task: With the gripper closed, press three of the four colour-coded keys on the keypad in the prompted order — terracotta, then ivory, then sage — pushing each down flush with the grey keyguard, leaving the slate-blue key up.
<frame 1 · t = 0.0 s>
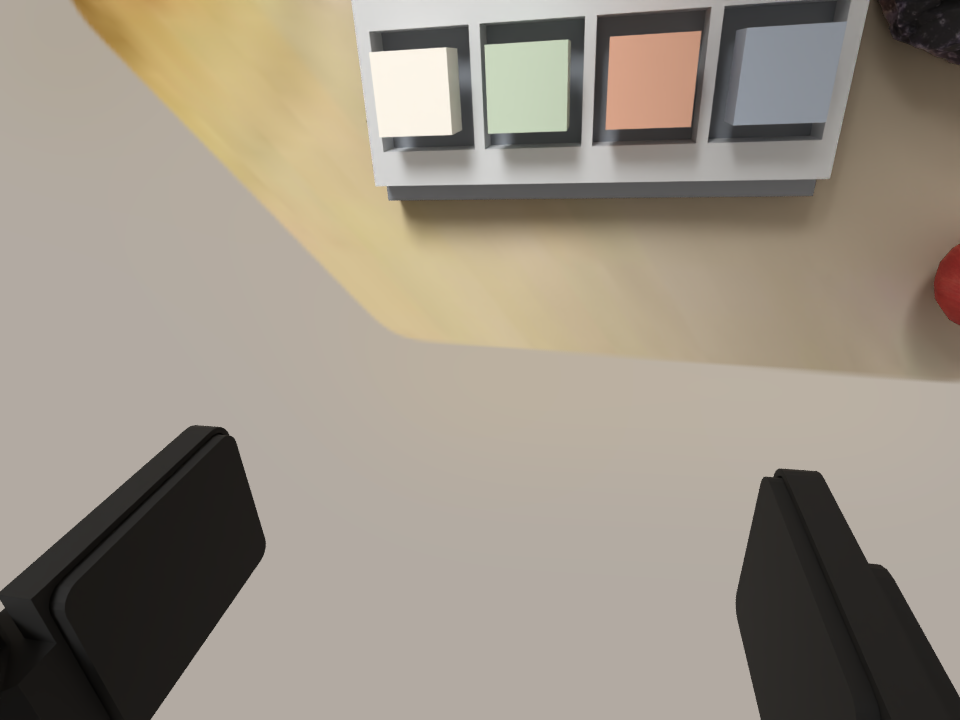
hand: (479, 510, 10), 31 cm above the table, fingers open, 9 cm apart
key slate: (780, 75, 28), point 5 cm above the table, slide at 0.0 cm
key sage: (529, 87, 30), point 5 cm above the table, slide at 0.0 cm
key ivory: (417, 93, 32), point 5 cm above the table, slide at 0.0 cm
key terracotta: (649, 81, 29), point 5 cm above the table, slide at 0.0 cm
keypad board: (590, 81, 34), on the table
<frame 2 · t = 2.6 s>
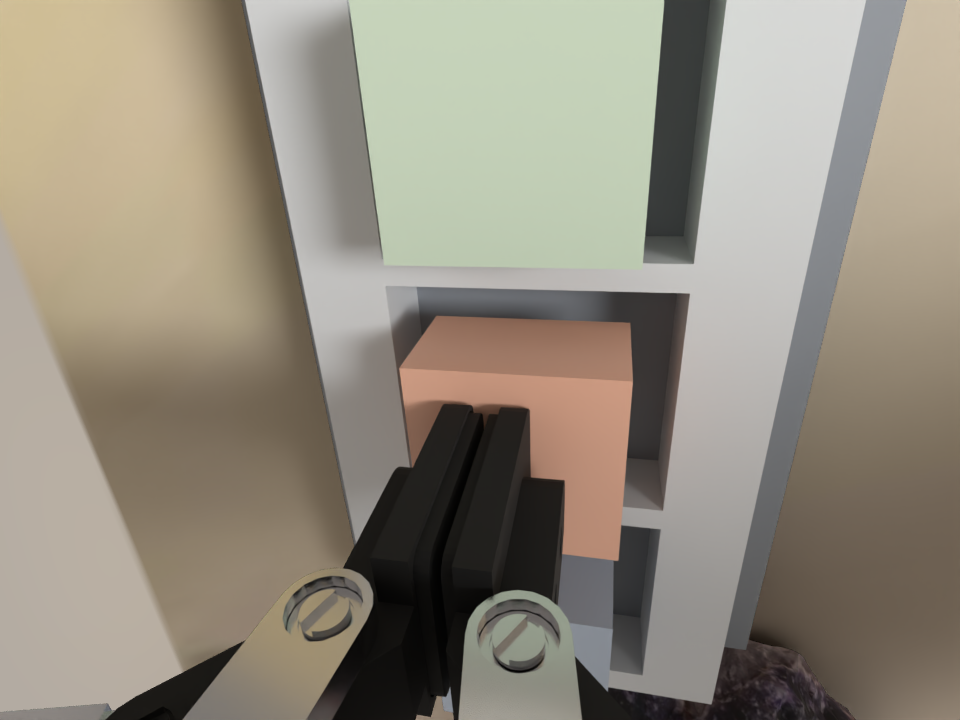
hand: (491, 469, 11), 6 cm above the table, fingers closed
key slate: (526, 629, 15), point 5 cm above the table, slide at 0.0 cm
key sage: (516, 119, 9), point 5 cm above the table, slide at 0.0 cm
key terracotta: (523, 432, 12), point 5 cm above the table, slide at 0.1 cm, touching gripper
keypad board: (549, 226, 15), on the table
crystal cluster: (690, 717, 24), on the table
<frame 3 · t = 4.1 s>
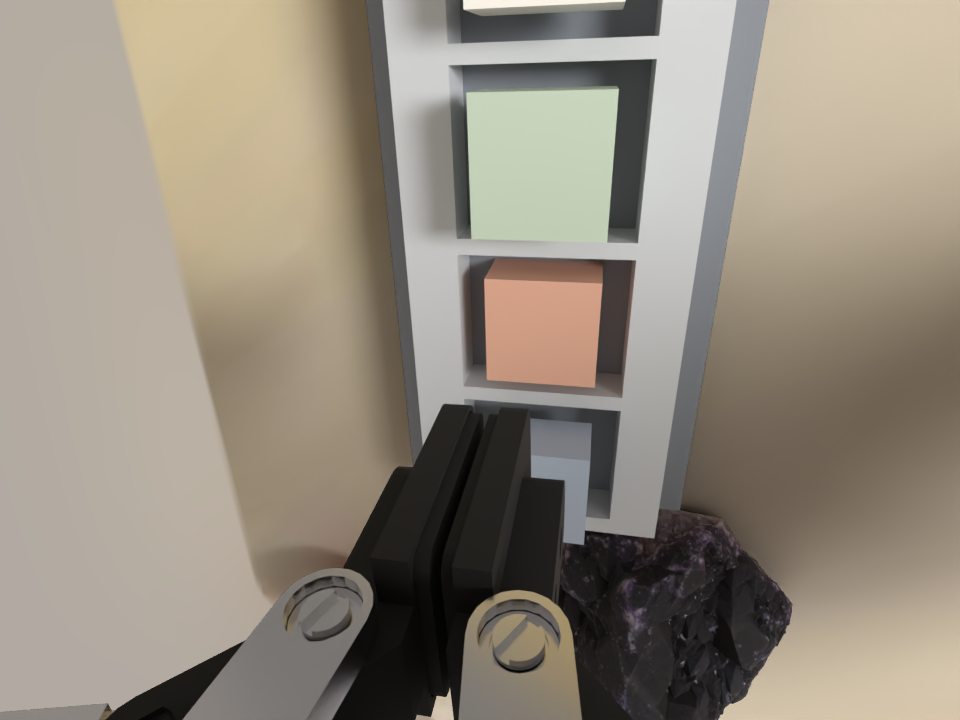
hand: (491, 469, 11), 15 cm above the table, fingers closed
key slate: (536, 478, 23), point 5 cm above the table, slide at 0.0 cm
key sage: (543, 163, 18), point 5 cm above the table, slide at 0.0 cm
key terracotta: (544, 321, 22), point 3 cm above the table, slide at 1.9 cm
keypad board: (553, 221, 24), on the table
crystal cluster: (650, 583, 32), on the table
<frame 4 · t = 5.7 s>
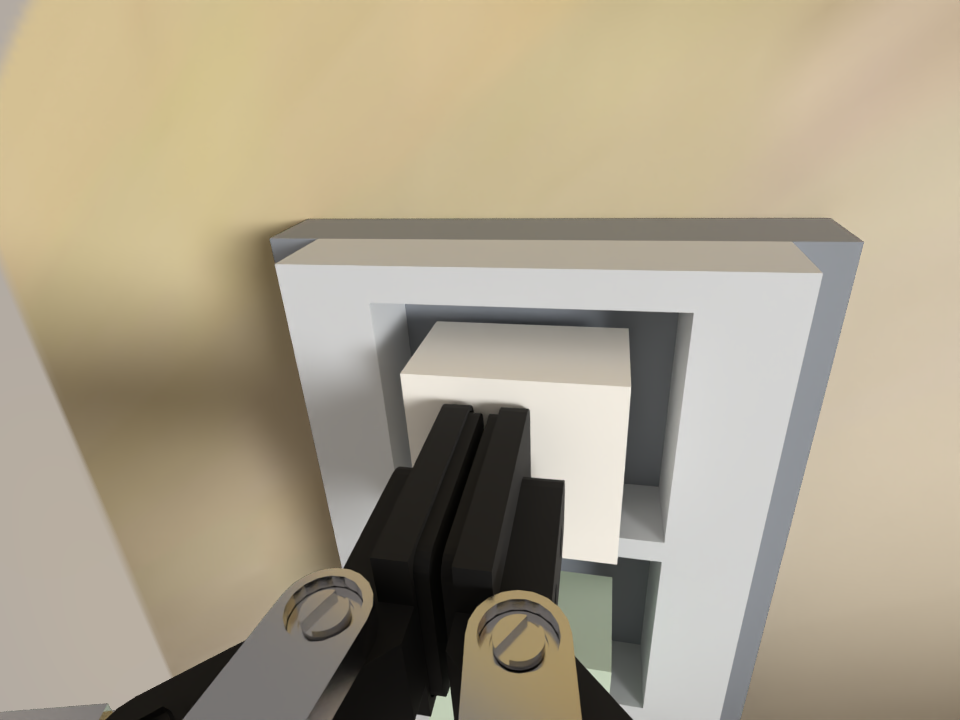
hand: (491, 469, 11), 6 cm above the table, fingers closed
key sage: (521, 665, 14), point 5 cm above the table, slide at 0.0 cm
key ivory: (522, 437, 12), point 4 cm above the table, slide at 1.0 cm, touching gripper
keypad board: (544, 586, 20), on the table
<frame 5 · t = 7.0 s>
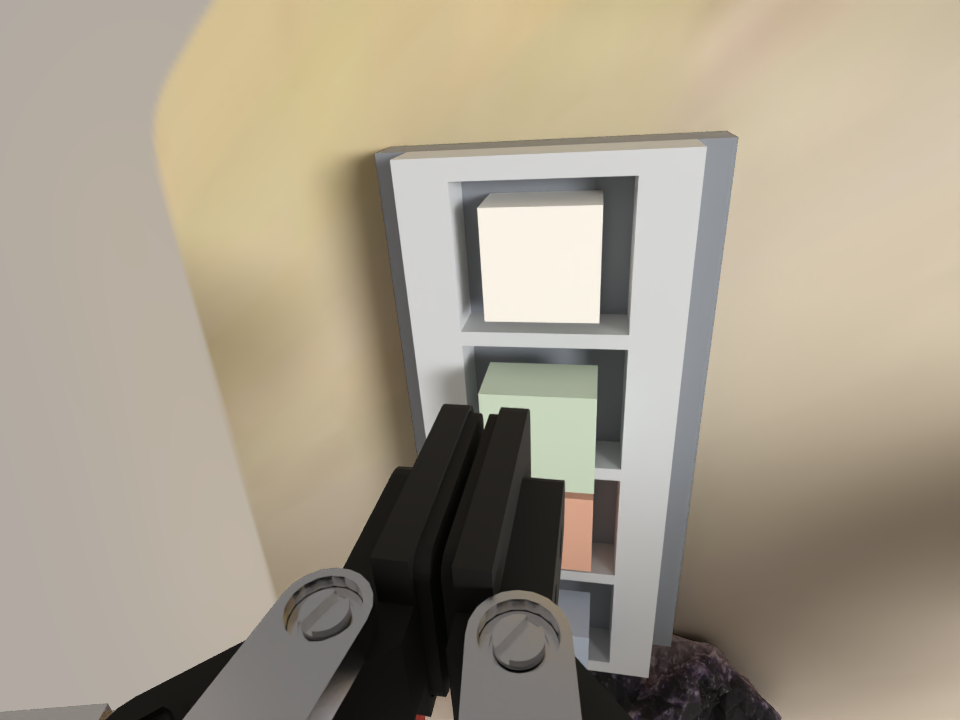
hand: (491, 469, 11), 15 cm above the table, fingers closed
key slate: (544, 638, 28), point 5 cm above the table, slide at 0.0 cm
key sage: (540, 426, 22), point 5 cm above the table, slide at 0.0 cm
key ivory: (543, 256, 21), point 3 cm above the table, slide at 1.9 cm
key terracotta: (546, 513, 27), point 3 cm above the table, slide at 1.9 cm
keypad board: (552, 419, 28), on the table
crystal cluster: (656, 690, 36), on the table
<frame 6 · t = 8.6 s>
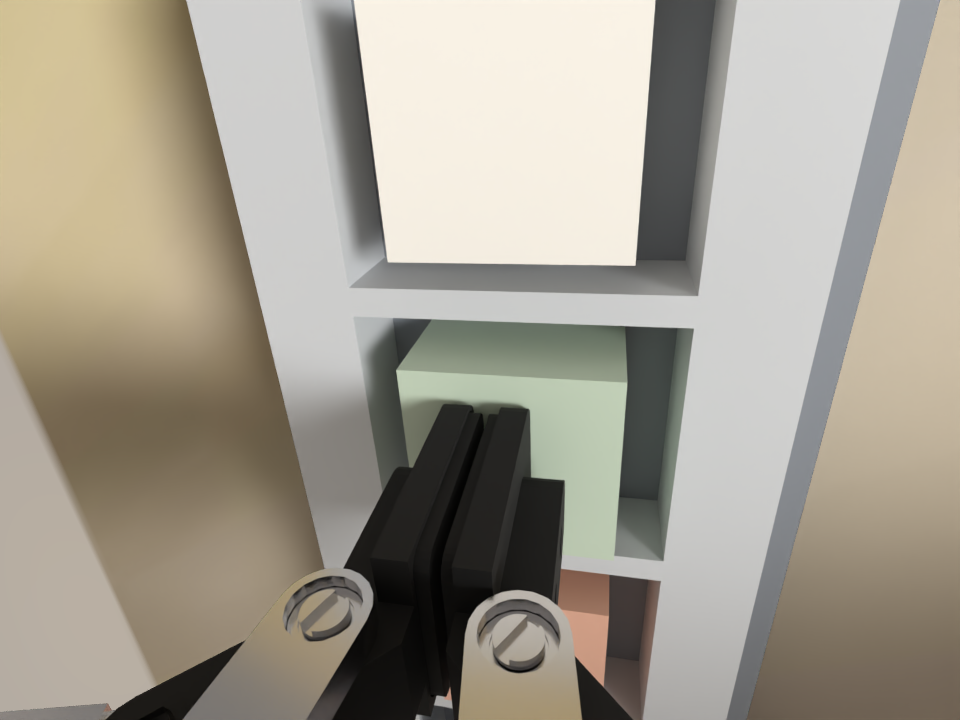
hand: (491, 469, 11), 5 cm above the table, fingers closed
key sage: (519, 433, 12), point 4 cm above the table, slide at 1.7 cm, touching gripper
key ivory: (514, 121, 10), point 3 cm above the table, slide at 1.9 cm
key terracotta: (525, 619, 15), point 3 cm above the table, slide at 1.9 cm
keypad board: (539, 452, 17), on the table
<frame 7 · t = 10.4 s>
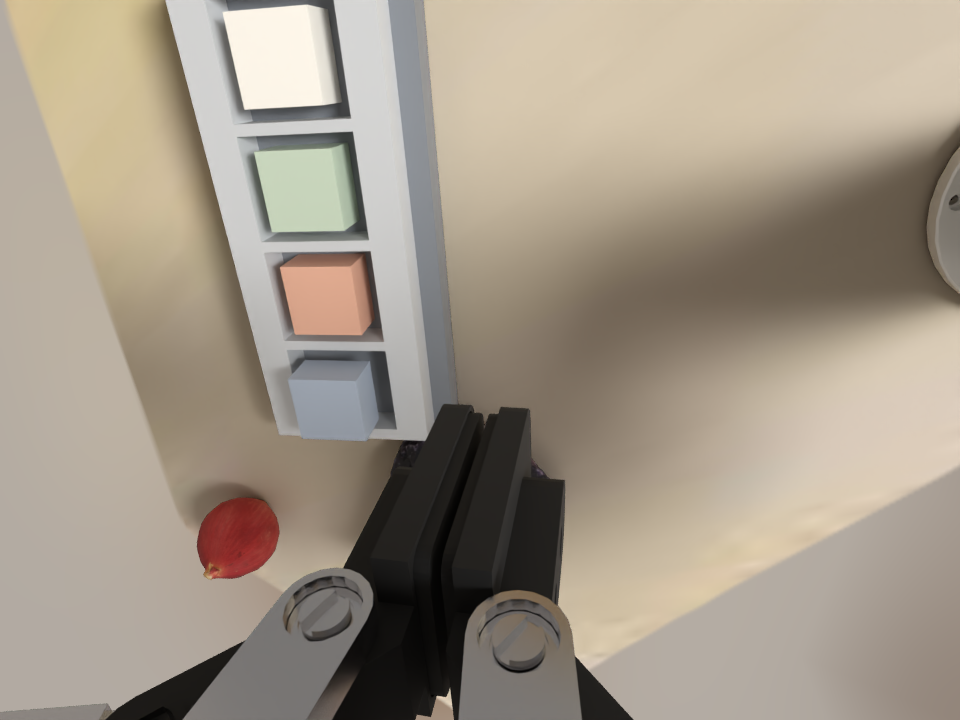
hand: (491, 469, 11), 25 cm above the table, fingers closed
key slate: (335, 400, 35), point 5 cm above the table, slide at 0.0 cm
key sage: (309, 187, 31), point 3 cm above the table, slide at 1.9 cm
key ivory: (285, 59, 28), point 3 cm above the table, slide at 1.9 cm
key terracotta: (329, 294, 34), point 3 cm above the table, slide at 1.9 cm
onion: (263, 502, 48), on the table
keypad board: (341, 228, 35), on the table
crystal cluster: (472, 486, 44), on the table
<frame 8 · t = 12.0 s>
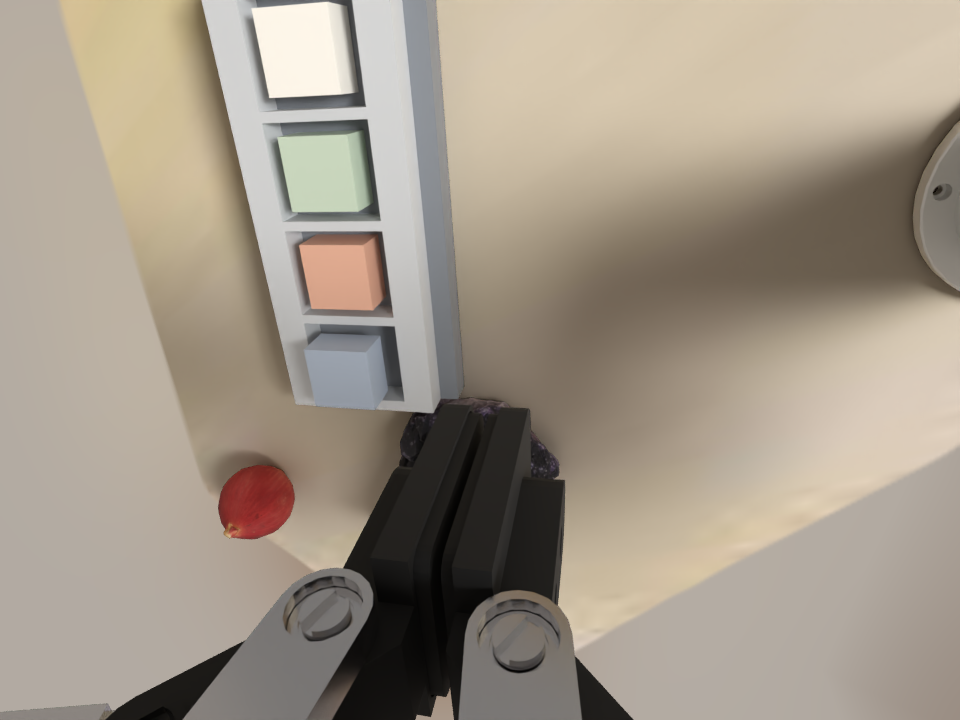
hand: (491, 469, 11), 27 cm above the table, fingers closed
key slate: (347, 371, 38), point 5 cm above the table, slide at 0.0 cm
key sage: (327, 171, 34), point 3 cm above the table, slide at 1.9 cm
key ivory: (307, 52, 31), point 3 cm above the table, slide at 1.9 cm
key terracotta: (344, 271, 36), point 3 cm above the table, slide at 1.9 cm
onion: (281, 471, 51), on the table
keypad board: (356, 211, 38), on the table
crystal cluster: (478, 460, 46), on the table
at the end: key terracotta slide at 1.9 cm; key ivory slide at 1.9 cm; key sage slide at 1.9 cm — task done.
